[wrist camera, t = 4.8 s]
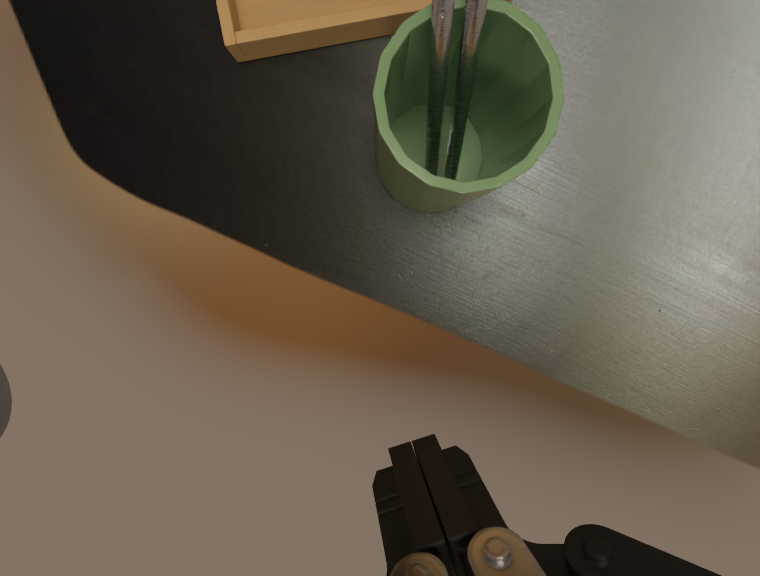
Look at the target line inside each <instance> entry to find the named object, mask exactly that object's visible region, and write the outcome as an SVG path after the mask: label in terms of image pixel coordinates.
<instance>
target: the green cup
mask: <svg viewBox="0 0 760 576" xmlns="http://www.w3.org/2000/svg"><path fill="white" fill-rule="evenodd" d="M465 2H466V0H455V3H454V13H453V23H452V33H451V44H450V54H449V64H448V74H447V84H446V94H445V104H444V114H443V124H442V134H441V144H440V154H439V164H438V174H437V176H435V175H433V174H431V173H430V172H428V171H427V170H426V169H424V164H425V143H426V122H427V101H428V80H429V59H430V38H431V17H432V3H430V4H429V5H427V6H426V7H424V8H423V9H421V10H420V11H418V12H417V13H415V14H414V15H412V16H411V17H410V18H408V19H407V20H405V21H404V22H403V23H402V24H401V25H400V27H399V28H398V30H397V31H396V33H395V34H394V36H393V37H392V39H391V40H390V42H389V43H388V45H387V46H386V48H385V49H384V51H383V52H382V54H381V56H380V60H379V65H378V70H377V74H376V79H375V84H374V88H373V115H374V138H375V157H376V162H377V169H378V174H379V177H380V179H381V181H382V183H383V185H384V187H385V188H386V190H387V191H388V192H389V194H390V195H391V196H392V197H393V198H394V199H395V200H396V201H398V202H399V203H400V204H402V205H404V206H405V207H407V208H409V209H412V210H415V211H418V212H424V213H436V212H442V211H447V210H452V209H454V208H456V207H458V206H461V205H463V204H465V203H467V202H469V201H471V200H474V199H476V198H478V197H480V196H482V195H485V194H487V193H489V192H491V191H493V190H495V189H498V188H500V187H502V186H503V185H505V184H506V183H508V182H510V181H511V180H513V179H514V178H516V177H518V176H519V175H521V174H522V173H524V172H525V171H527V170H529V169H530V168H531V167H532V166H533V165H534V164H535V162H536V161H537V160H538V158H539V157H540V155H541V154H542V153H543V151H544V150H545V149H546V147H547V146H548V144H549V143H550V142H551V140H552V139H553V138H554V135H555V132H556V128H557V124H558V120H559V116H560V113H561V109H562V105H563V101H564V99H563V98H564V92H563V84H562V76H561V67H560V60H559V58H558V56H557V54H556V52H555V51H554V49H553V47H552V45H551V43H550V42H549V40H548V38H547V36H546V34H545V33H544V31H543V29H542V27H541V26H540V25H539V24H538V23H537V22H535V21H534V20H533V19H531V18H530V17H529V16H528V15H526V14H525V13H524V12H522V11H521V10H520V9H518V8H517V7H516V6H515V5H513V4H512V3H510V2H507V1H503V0H488V5H487V10H486V16H485V21H484V27H483V33H482V38H481V44H480V50H479V55H478V61H477V67H476V72H475V78H474V84H473V89H472V95H471V100H470V106H469V112H468V117H467V123H466V129H465V134H464V140H463V146H462V151H461V157H460V163H459V168H458V174H457V180H453V179H448V178H444V170H445V162H446V154H447V146H448V138H449V130H450V122H451V114H452V106H453V98H454V90H455V82H456V74H457V66H458V58H459V50H460V42H461V34H462V26H463V18H464V10H465Z"/></svg>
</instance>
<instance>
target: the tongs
mask: <svg viewBox="0 0 760 576" xmlns="http://www.w3.org/2000/svg"><path fill="white" fill-rule="evenodd" d="M454 3H455V0H432V17H431V38H430V59H429V80H428V101H427V122H426V143H425V164H424V169H426V170H427V171H428V172H430V173H431V174H433V175H435V176H437V174H438V164H439V154H440V144H441V134H442V124H443V114H444V104H445V94H446V84H447V74H448V64H449V54H450V44H451V33H452V23H453V13H454ZM487 5H488V0H466V2H465V10H464V18H463V26H462V34H461V42H460V50H459V58H458V66H457V74H456V82H455V90H454V98H453V106H452V114H451V122H450V130H449V138H448V146H447V154H446V162H445V170H444V178H448V179H453V180H457V174H458V168H459V163H460V157H461V151H462V146H463V140H464V134H465V129H466V123H467V117H468V112H469V106H470V100H471V95H472V89H473V84H474V78H475V72H476V67H477V61H478V55H479V50H480V44H481V38H482V33H483V27H484V21H485V16H486V10H487Z"/></svg>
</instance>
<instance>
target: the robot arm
mask: <svg viewBox="0 0 760 576" xmlns="http://www.w3.org/2000/svg"><path fill="white" fill-rule="evenodd" d="M412 443H413V447H414V450H413V448H412V445H411V442H407V443H404V444H401V445H398V446H394V447H391V448H389V453H390V457H391V460H392V464H393V466H391V467H388V468H385V469H382V470H378V471H376V475H375V479H374V482H373V486H372V487H373V492H374V497H375V502H376V508H377V514H378V519H379V524H380V529H381V535H382V540H383V545H384V551H385V556H386V562H387V576H721V575H719V574H716V573H714V572H712V571H709V570H707V569H704V568H702V567H699V566H697V565H695V564H692V563H690V562H688V561H685V560H683V559H680V558H678V557H676V556H673V555H671V554H669V553H666V552H664V551H662V550H659V549H657V548H654V547H652V546H650V545H647V544H645V543H642V542H640V541H638V540H635V539H633V538H631V537H628V536H626V535H623V534H621V533H619V532H616V531H614V530H612V529H609V528H606V527H604V526H600V525H594V524H586V525H581V526H578V527H576V528H574V529H573V530H571V531H570V532H569V533H568V535H567V536H566V539H565V543H564V544H536V543H532V542H528V541H526V540H523V539H522V538H521V537H520V536H519V535H518V534H516V533H515V532H513V531H512V530H510V529H509V528H508V527H507V525H506V524H505V522H504V520H503V519H502V517H501V515H500V513H499V511H498V509H497V507H496V505H495V504H494V502H493V500H492V498H491V496H490V494H489V492H488V491H487V489H486V487H485V485H484V483H483V482H482V479H481V477H480V475H479V474H478V472H477V471H476V468H475V466H474V464H473V462H472V460H471V459H470V457H469V455H468V454H467V453H465V452H464V451H463V450H461V449H460V448H459V447H457V446H453V447H450V448H447V449H443V450H441V447H440V445H439V443H438V441H437V439H436V436H435V435H434V434H432V435H429V436H426V437H423V438H420V439H416V440H413V441H412ZM414 451H415V453H414ZM415 454H416V456H415ZM416 458H417V459H416Z"/></svg>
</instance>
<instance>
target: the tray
mask: <svg viewBox="0 0 760 576" xmlns="http://www.w3.org/2000/svg"><path fill="white" fill-rule="evenodd" d="M503 1H507V2H511V0H503ZM430 3H432V0H216V4H217V9H218V14H219V19H220V24H221V29H222V34H223V39H224V44H225V46H226V48H227V49H228V50H229V51H230V53H231V54H232V55H233V57H234V58H235V59H236V60H237V62H243V61H249V60H254V59H260V58H265V57H270V56H276V55H281V54H287V53H292V52H298V51H303V50H309V49H314V48H320V47H325V46H330V45H336V44H341V43H347V42H352V41H358V40H363V39H369V38H374V37H380V36H385V35H391V34H395V33H396V31H397V30H398V28H399V27H400V25H401V24H402V23H403V22H404V21H405V20H407V19H408V18H410V17H411V16H412V15H414V14H415V13H417V12H418V11H420V10H421V9H423V8H424V7H426V6H427V5H429V4H430Z"/></svg>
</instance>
